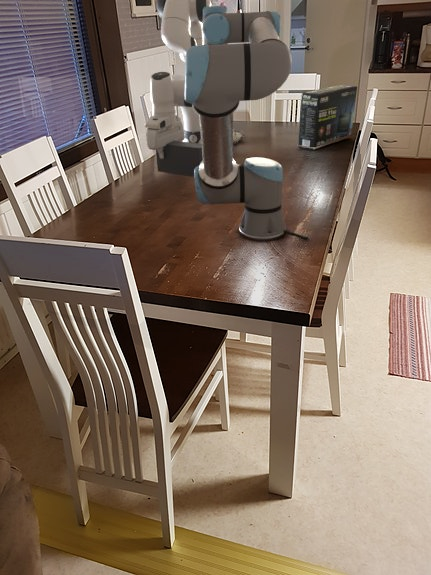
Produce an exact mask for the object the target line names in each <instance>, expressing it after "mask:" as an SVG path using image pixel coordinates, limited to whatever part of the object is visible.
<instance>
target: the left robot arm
mask: <svg viewBox="0 0 431 575" xmlns="http://www.w3.org/2000/svg"><path fill="white" fill-rule="evenodd" d="M206 6H212V1H211V0H157V2H156V10H157V14H158V16H159V18H160V19H161V25H160V36H161V40H162V42H163V43H164V45H165V46H166V47H167V48H168V49H170V50H171V51H173V52H175V53H178V54H179V58H180V60H181V62H183V63H185V62H186V52H187V50H188V49H189V48H190V47H192V46H199V45H203V44H204V35H203V31H202V25H203V8H204V7H206ZM149 80H150V81H149V91H150V101H151V104H152V109H151V113H152V115H150V117H149V118H148V119H147V120H146V121H145V122H144V127H145V129H146V131H145V138H146V145H147V146H146V147H147V148H148V150H151V151H153V150H154V151H156V150H157V151H158V153H159V156H160V158H162V159H163V158H165V153H163V147H164V146H166V144H168V143H170V142H173V141H181V140H182V142H190V143H199V144H201V133H200V121H199V114H198V113H197V112H196V111H195V110H194V108H193V106H192V104H190V103H187V102H186V101H185V72H177V73H174V74H171V73H170V72H168V71H158V72H154V73H152V74H151V75H150V79H149ZM176 107H179V109H180V110H181V113H182V119H183V121H182V119H181V117H180V116H179V115H178V114H177V111H176Z"/></svg>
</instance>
